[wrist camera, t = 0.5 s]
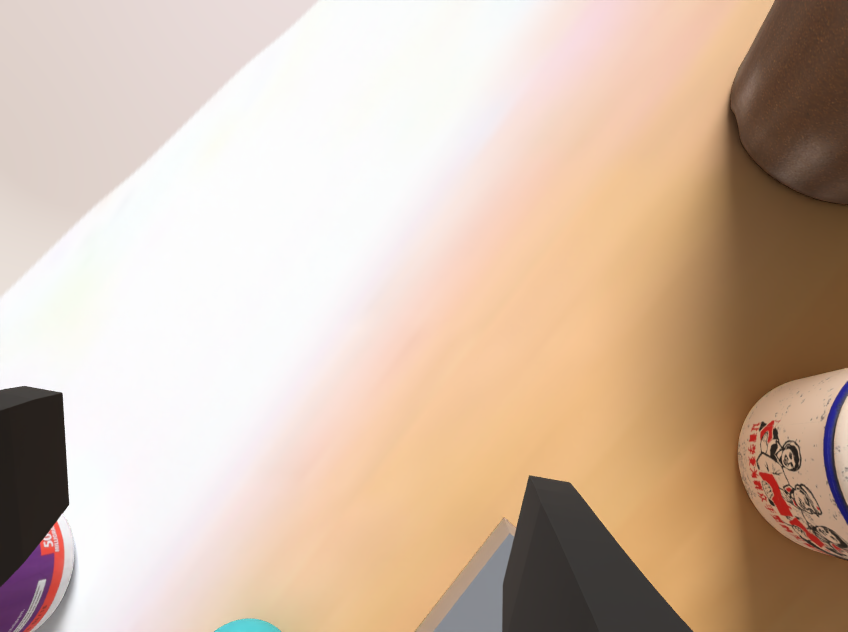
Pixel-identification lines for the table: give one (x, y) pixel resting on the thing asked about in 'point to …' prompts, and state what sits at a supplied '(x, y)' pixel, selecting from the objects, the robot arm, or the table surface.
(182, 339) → the table surface
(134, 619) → the table surface
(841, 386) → the teacup with lid
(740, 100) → the plant pot
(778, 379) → the table surface
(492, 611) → the grey block
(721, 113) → the table surface
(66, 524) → the pill bottle
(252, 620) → the ball
